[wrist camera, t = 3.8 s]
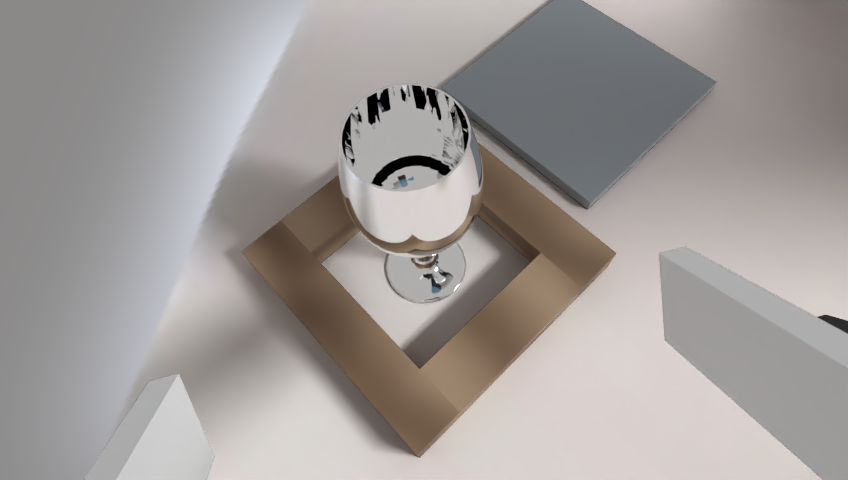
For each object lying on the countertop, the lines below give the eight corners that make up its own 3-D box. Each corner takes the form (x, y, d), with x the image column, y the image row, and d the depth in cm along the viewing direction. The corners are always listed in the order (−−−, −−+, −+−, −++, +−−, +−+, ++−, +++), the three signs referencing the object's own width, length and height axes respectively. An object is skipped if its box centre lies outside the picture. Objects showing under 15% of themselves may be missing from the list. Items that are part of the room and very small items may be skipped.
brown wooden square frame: (430, 122, 33) (429, 103, 32) (607, 266, 28) (616, 253, 27) (253, 264, 30) (241, 251, 28) (419, 457, 25) (416, 455, 23)
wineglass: (371, 226, 30) (321, 81, 19) (469, 214, 30) (474, 62, 19) (378, 321, 28) (324, 216, 17) (485, 309, 28) (500, 195, 17)
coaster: (563, 0, 37) (565, -10, 36) (711, 90, 33) (716, 82, 32) (442, 95, 34) (442, 87, 33) (587, 209, 30) (590, 202, 29)
